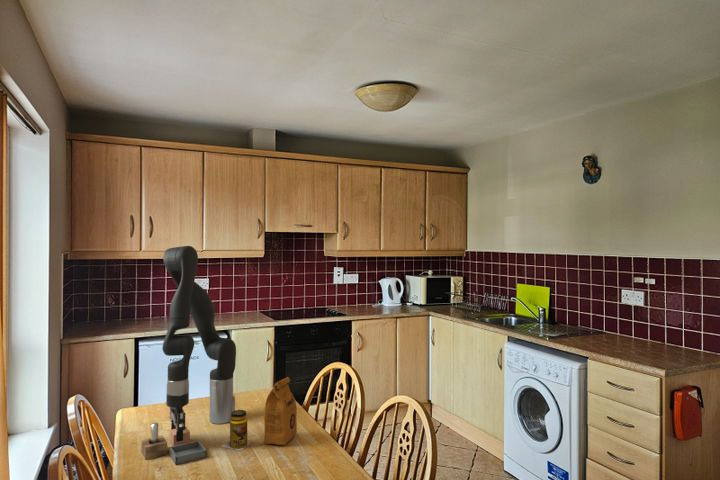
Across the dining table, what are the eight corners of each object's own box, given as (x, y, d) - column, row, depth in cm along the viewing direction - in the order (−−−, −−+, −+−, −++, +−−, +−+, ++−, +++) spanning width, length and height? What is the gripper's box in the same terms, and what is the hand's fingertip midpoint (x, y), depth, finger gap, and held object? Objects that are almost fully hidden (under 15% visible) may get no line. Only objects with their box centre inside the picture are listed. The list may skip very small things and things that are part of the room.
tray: (198, 447, 172) (198, 440, 172) (206, 457, 164) (206, 449, 164) (169, 454, 166) (169, 447, 166) (175, 464, 159) (175, 457, 159)
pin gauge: (157, 450, 169) (157, 422, 169) (158, 453, 167) (158, 424, 167) (150, 452, 168) (150, 423, 167) (151, 454, 166) (151, 425, 166)
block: (185, 440, 178) (185, 426, 178) (189, 445, 173) (189, 431, 173) (169, 443, 175) (170, 429, 175) (173, 449, 170) (173, 435, 170)
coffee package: (301, 435, 183) (301, 377, 182) (284, 449, 171) (284, 386, 171) (278, 431, 186) (278, 374, 186) (260, 444, 175) (260, 383, 174)
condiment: (241, 450, 170) (241, 416, 169) (220, 447, 172) (220, 413, 172) (252, 442, 176) (252, 409, 176) (232, 439, 179) (232, 406, 179)
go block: (162, 446, 172) (162, 435, 172) (167, 454, 166) (167, 442, 166) (141, 451, 168) (141, 440, 168) (145, 459, 162) (145, 447, 162)
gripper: (162, 387, 178) (162, 432, 178) (170, 398, 166) (169, 446, 166) (184, 384, 182) (183, 428, 182) (193, 395, 170) (192, 441, 170)
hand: (177, 436), depth 174 cm, fingers open, 8 cm apart
